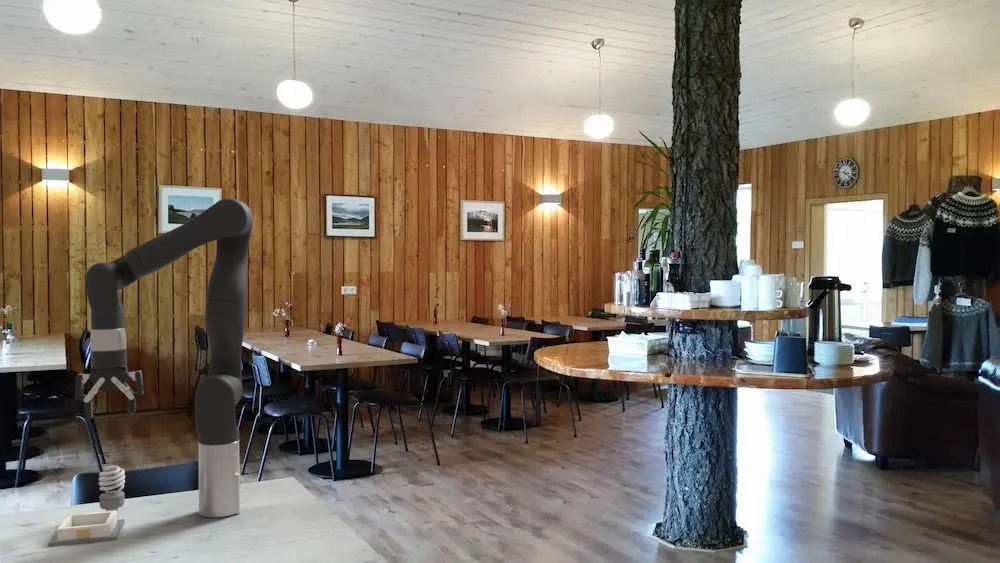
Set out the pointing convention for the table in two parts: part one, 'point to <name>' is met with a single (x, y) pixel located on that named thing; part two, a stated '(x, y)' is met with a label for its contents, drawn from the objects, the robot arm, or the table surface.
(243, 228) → the robot arm
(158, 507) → the table surface
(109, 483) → the light bulb
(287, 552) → the table surface
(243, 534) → the table surface
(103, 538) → the slate board
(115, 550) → the table surface
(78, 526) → the cream square tray
